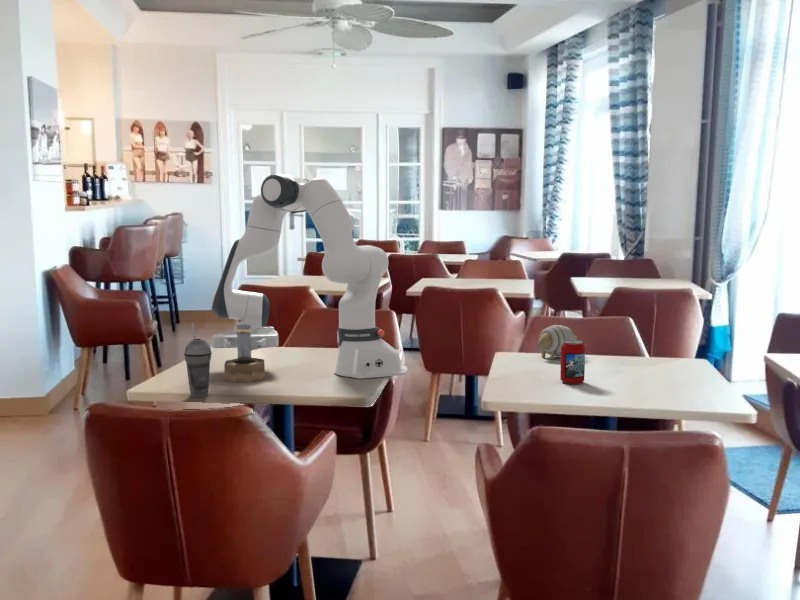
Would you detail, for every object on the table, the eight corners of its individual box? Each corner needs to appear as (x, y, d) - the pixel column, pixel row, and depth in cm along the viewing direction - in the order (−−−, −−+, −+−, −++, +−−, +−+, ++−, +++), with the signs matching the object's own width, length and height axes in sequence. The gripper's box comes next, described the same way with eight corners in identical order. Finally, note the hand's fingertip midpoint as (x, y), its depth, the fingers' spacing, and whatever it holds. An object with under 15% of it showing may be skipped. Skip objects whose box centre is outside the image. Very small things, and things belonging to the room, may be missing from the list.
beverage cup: (209, 398, 203) (206, 324, 201) (182, 398, 204) (179, 324, 201) (216, 392, 211) (213, 320, 208) (190, 392, 211) (187, 320, 209)
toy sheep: (528, 358, 256) (528, 325, 255) (562, 352, 266) (562, 320, 265) (552, 362, 248) (553, 329, 247) (586, 356, 258) (586, 324, 257)
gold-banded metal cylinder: (252, 376, 231) (251, 324, 229) (251, 379, 227) (250, 326, 225) (238, 376, 230) (236, 324, 228) (237, 379, 226) (235, 326, 224)
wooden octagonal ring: (265, 373, 235) (264, 357, 234) (263, 381, 223) (263, 364, 223) (227, 374, 233) (226, 358, 233) (223, 383, 222) (223, 366, 221)
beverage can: (570, 386, 215) (571, 344, 214) (555, 381, 221) (556, 340, 220) (589, 383, 218) (590, 342, 217) (573, 379, 224) (574, 338, 223)
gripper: (212, 328, 240) (208, 335, 226) (278, 326, 243) (277, 333, 229) (213, 347, 240) (208, 356, 227) (279, 345, 243) (278, 353, 230)
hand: (244, 344), depth 228 cm, fingers open, 8 cm apart
